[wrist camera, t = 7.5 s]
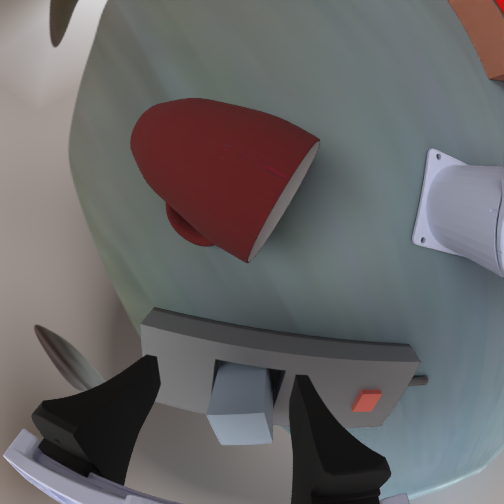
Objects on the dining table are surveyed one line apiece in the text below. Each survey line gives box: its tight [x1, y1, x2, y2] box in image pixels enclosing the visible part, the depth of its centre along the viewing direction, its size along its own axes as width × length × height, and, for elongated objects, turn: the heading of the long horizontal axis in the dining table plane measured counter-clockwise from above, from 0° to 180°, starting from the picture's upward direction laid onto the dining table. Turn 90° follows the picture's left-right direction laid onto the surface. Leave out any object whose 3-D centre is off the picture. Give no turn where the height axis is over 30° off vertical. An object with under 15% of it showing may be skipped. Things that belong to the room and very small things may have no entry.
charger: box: [206, 360, 273, 445], centre depth 20 cm, size 4×4×7 cm
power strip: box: [141, 307, 428, 428], centre depth 22 cm, size 29×9×4 cm, turn 81°
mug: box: [130, 98, 320, 263], centre depth 16 cm, size 11×8×10 cm
